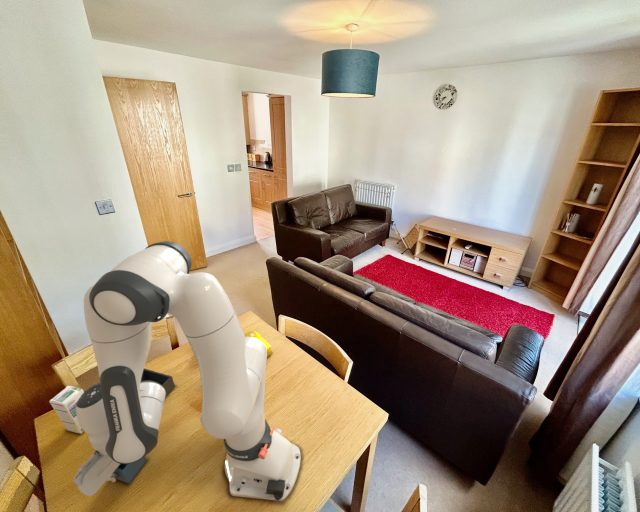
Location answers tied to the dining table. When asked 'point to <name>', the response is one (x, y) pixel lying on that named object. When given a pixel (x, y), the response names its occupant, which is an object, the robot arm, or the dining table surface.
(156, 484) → the dining table surface
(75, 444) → the dining table surface
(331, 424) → the dining table surface
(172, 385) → the big bin
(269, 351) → the element tile
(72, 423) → the syrup box
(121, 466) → the small bin
